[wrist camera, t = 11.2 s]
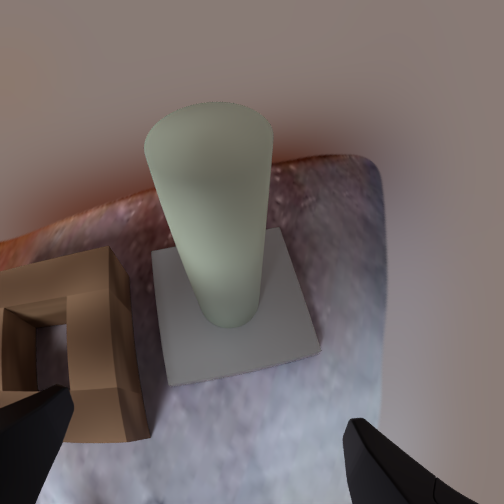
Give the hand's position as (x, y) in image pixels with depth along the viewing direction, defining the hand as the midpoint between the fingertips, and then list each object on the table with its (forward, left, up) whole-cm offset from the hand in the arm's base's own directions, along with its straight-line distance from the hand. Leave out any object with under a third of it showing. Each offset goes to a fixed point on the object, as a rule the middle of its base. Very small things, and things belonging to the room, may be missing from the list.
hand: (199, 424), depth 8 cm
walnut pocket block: (+5, +10, -9) cm, 14 cm away
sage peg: (+7, -2, -8) cm, 11 cm away
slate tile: (+7, -2, -9) cm, 11 cm away
